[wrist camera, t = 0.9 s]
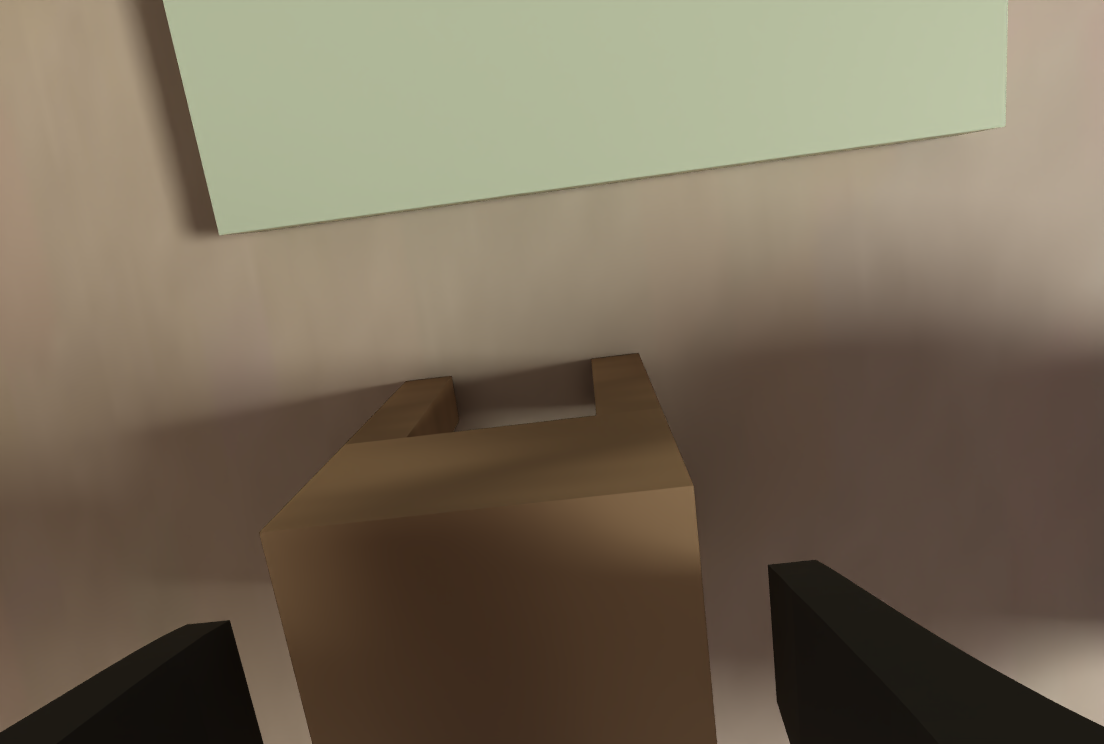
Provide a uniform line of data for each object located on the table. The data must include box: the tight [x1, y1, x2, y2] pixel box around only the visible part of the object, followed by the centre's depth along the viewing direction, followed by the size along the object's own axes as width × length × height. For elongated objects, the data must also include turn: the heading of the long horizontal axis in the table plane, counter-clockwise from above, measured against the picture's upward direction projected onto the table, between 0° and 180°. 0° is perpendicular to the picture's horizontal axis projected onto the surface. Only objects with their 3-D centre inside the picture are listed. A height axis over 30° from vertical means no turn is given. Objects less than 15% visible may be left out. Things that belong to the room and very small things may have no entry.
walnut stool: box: [259, 353, 717, 744], centre depth 12 cm, size 5×5×7 cm
